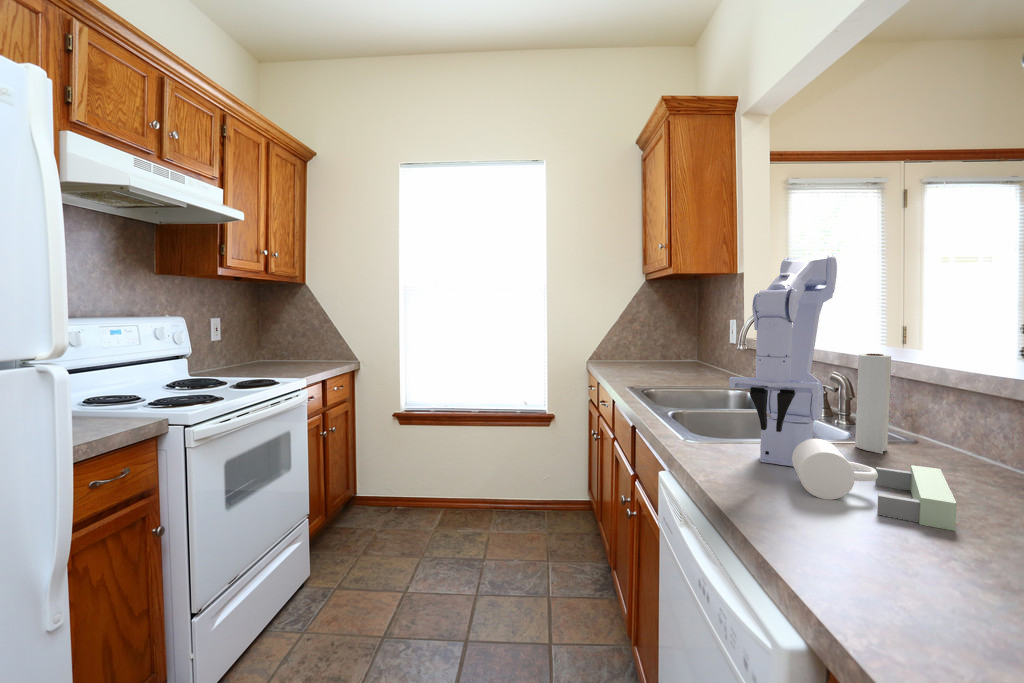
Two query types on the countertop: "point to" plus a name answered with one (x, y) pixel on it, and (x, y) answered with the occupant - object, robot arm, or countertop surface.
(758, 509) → the countertop surface
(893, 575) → the countertop surface
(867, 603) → the countertop surface
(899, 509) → the green forked block
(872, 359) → the paper towel roll
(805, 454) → the mug
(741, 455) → the countertop surface
